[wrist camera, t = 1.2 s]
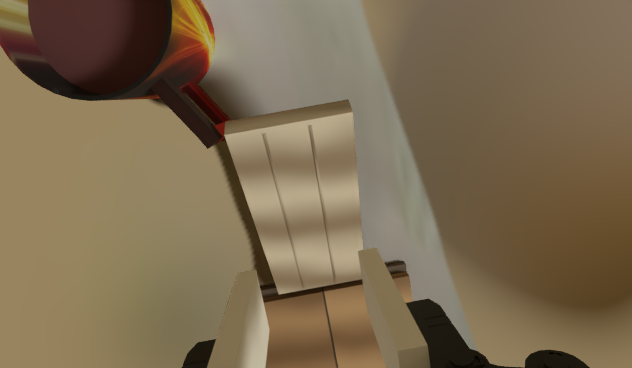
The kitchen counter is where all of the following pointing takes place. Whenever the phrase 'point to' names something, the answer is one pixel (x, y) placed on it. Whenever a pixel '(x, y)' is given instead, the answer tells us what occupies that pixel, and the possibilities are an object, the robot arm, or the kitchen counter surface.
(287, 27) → the kitchen counter surface
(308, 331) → the floorboard
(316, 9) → the kitchen counter surface
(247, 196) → the plank
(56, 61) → the mug
